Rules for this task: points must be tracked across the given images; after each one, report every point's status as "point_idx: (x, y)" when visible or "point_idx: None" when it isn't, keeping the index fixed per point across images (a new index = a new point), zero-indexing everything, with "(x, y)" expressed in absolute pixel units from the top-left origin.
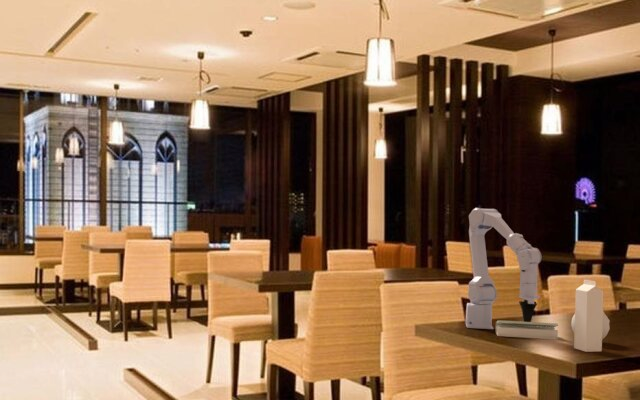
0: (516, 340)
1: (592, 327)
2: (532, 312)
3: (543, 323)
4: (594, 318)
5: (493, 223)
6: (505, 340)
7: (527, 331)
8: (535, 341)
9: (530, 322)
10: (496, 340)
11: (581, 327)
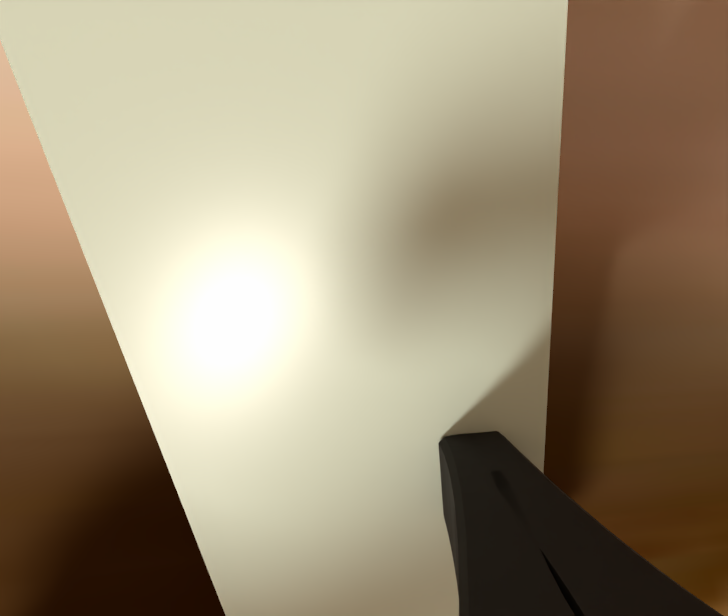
0: (689, 416)
1: None
2: (693, 602)
3: (557, 175)
4: None
5: None
6: (707, 493)
7: None
8: (721, 232)
9: (540, 430)
10: (719, 546)
11: None
